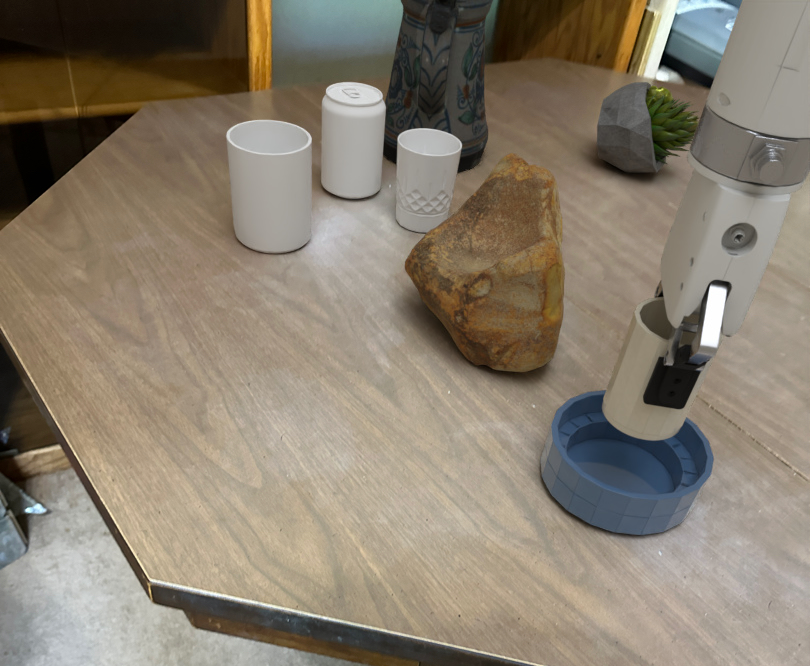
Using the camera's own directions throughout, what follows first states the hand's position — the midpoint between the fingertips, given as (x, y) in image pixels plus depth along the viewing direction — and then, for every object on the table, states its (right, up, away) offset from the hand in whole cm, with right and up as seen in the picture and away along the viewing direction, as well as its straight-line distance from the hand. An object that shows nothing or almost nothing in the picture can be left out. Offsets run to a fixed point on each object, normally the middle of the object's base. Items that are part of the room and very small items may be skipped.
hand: (659, 373), depth 62 cm
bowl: (-1, -8, +9) cm, 12 cm away
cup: (0, -3, +3) cm, 4 cm away
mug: (-37, +25, +34) cm, 56 cm away
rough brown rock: (-13, +11, +25) cm, 30 cm away
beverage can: (-28, +35, +43) cm, 62 cm away
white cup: (-18, +28, +39) cm, 52 cm away
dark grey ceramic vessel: (-16, +44, +53) cm, 71 cm away
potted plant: (+15, +44, +57) cm, 73 cm away
